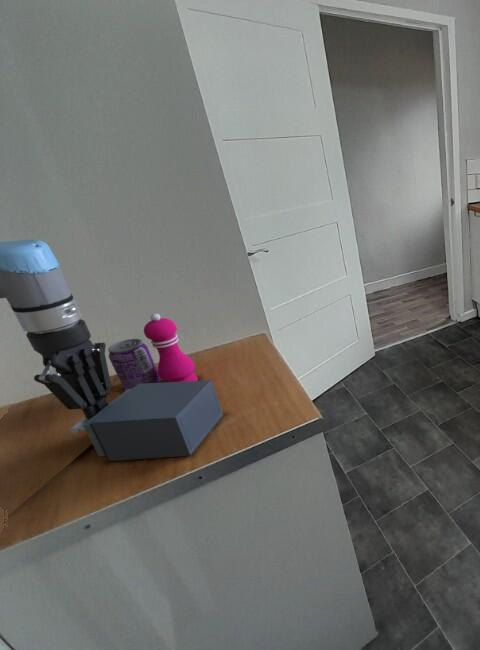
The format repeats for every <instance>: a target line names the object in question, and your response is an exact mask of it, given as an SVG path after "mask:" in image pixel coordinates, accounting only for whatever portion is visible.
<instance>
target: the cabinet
mask: <svg viewBox="0 0 480 650" xmlns="http://www.w3.org/2000/svg"><path fill="white" fill-rule="evenodd" d="M223 416H224V413H223V410H222V407H221V405H220V402H219V399H218V395H217V392H216V389H215V386H214V384H213V380H212V379H208V380H207V379H206V380H205V379H204V380H197V381H185V382H158V383H144V384H138V385H137V386H135V387H134V388H133V389H132V390H130V391H129V392H128V393H127V394H126V395H124V396H123V397H122V398H121V399H119V400H118V401H117V402H116V403H115V404H113V405H112V406H111V407H110V408H108V409H107V410H106V411H105V412H103V413H102V414H101V415H100V416H99V417H97V418H96V419H95V420H94V421H92V422H91V423H92V425H93V427H94V429H95V431H96V433H97V435H98V437H99V439H100V441H101V443H102V445H103V447H104V449H105V451H106V453H107V455H106V456H107V457H108V459H109V462H117V461H118V462H119V461H133V460H143V459H144V460H146V459H160V458H161V459H162V458H175V457H176V458H177V457H190V456H192V455H193V453H194V452H195V451H196V449H197V448H198V447H199V446H200V445H201V444H202V442H203V441H204V440H205V438H206V437H207V436H208V434H209V433H210V432H211V431H212V430H213V428H214V427H215V426H216V425H217V423H218V422H219V421H220V419H222V417H223Z"/></svg>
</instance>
